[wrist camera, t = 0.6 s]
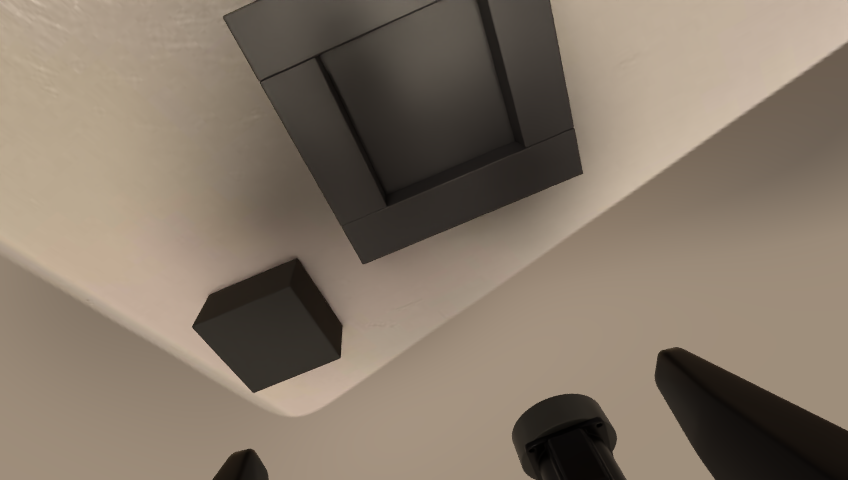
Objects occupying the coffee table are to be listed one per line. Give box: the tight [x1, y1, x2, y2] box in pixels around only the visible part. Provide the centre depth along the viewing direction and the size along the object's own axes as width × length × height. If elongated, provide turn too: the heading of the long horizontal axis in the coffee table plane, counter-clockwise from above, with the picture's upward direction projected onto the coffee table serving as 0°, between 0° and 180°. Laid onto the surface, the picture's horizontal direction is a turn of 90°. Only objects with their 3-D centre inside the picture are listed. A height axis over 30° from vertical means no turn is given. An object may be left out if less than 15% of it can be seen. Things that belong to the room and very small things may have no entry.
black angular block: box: [192, 259, 342, 393], centre depth 23 cm, size 6×6×3 cm
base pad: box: [223, 0, 583, 264], centre depth 19 cm, size 12×12×2 cm
